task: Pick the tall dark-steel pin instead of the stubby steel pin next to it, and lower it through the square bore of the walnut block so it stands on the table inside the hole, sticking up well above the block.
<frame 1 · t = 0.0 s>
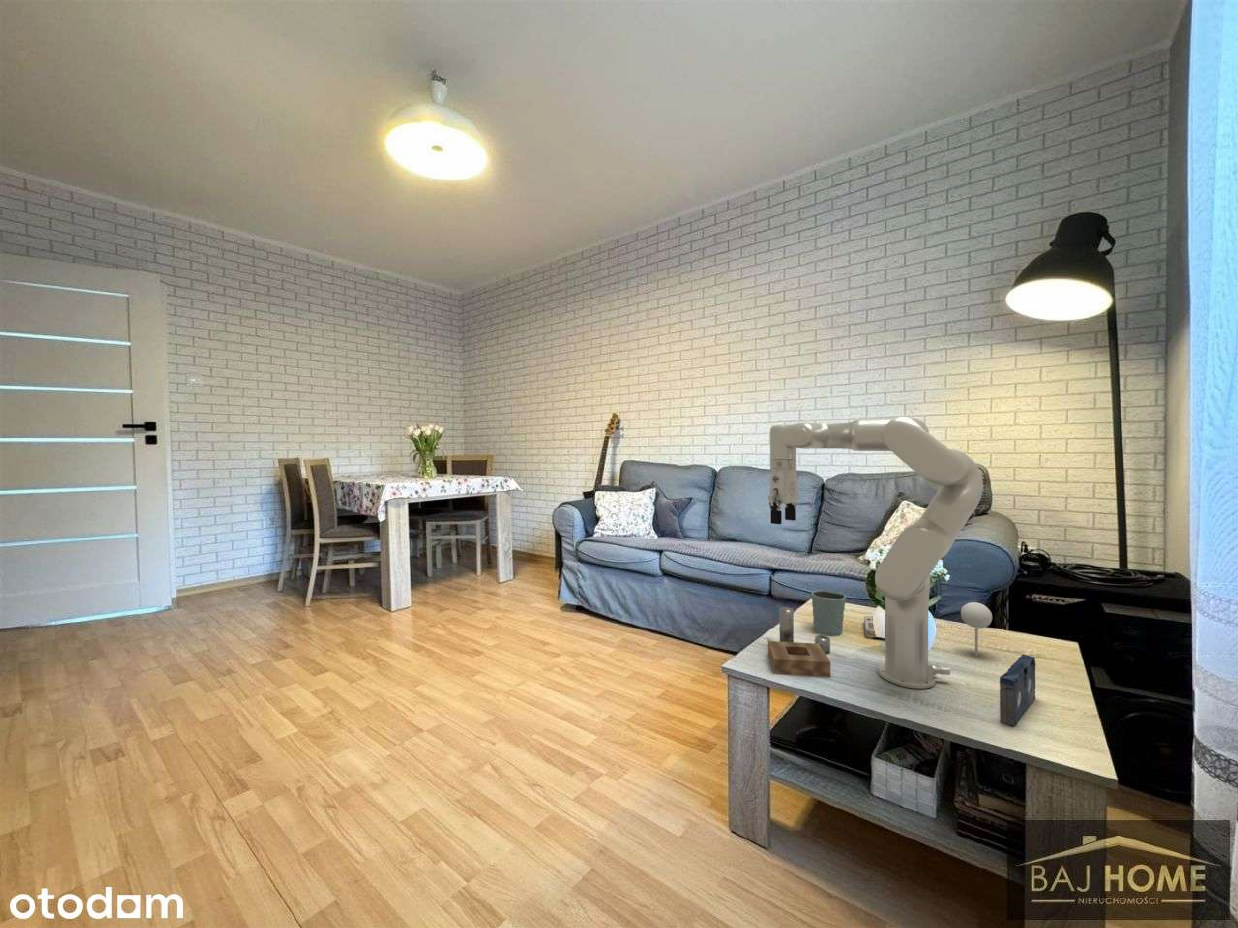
hand: (783, 521, 144), 37 cm above the table, tool pointing down, fingers open, 9 cm apart
short pin: (822, 651, 139), on the table
grey green cup: (828, 631, 154), on the table
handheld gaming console: (880, 633, 153), on the table
hole block: (797, 665, 130), on the table
vhs cassette tape: (1018, 711, 106), on the table
lollipop: (976, 656, 135), on the table
tall pin: (786, 649, 140), on the table
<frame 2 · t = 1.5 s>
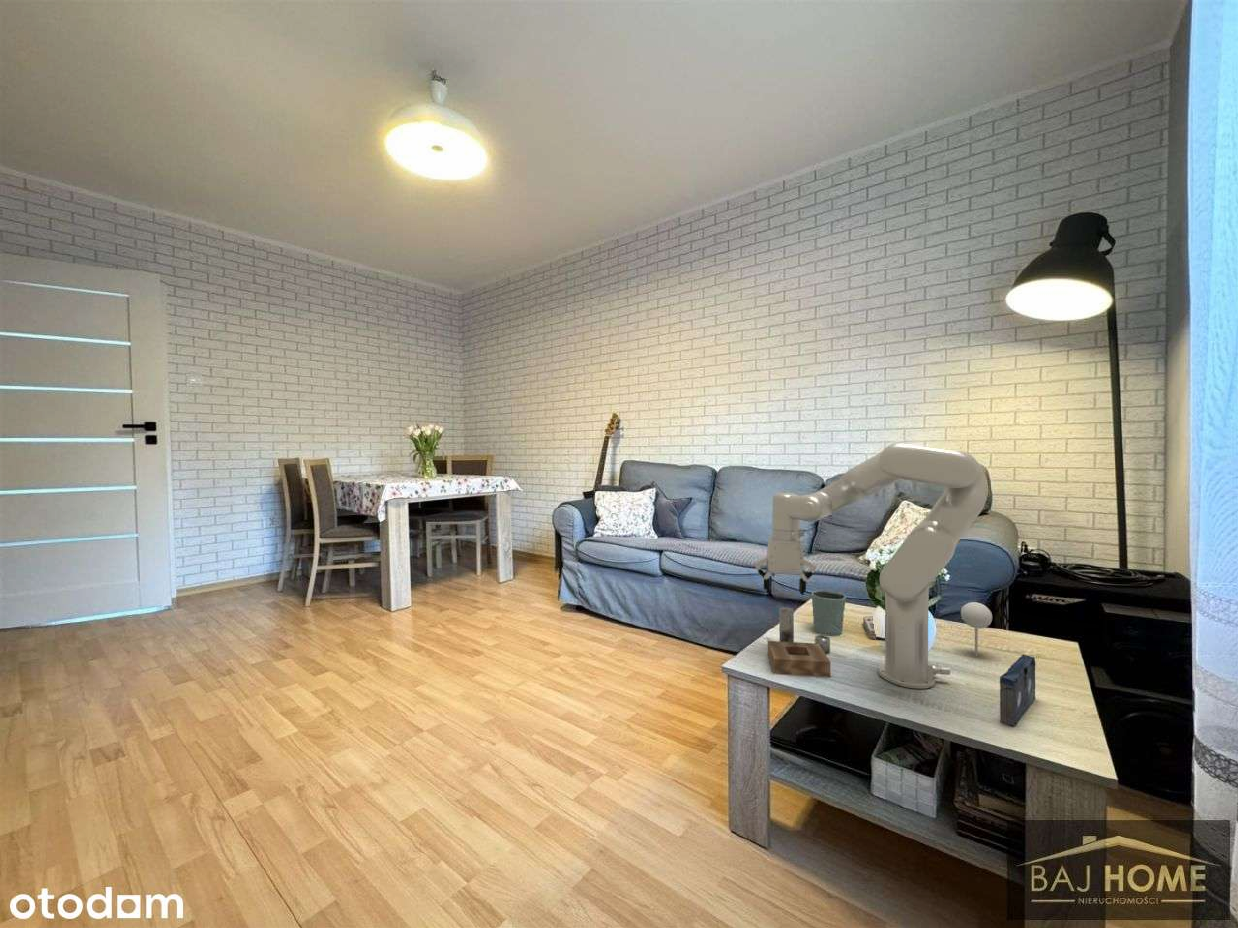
hand: (784, 592, 140), 17 cm above the table, tool pointing down, fingers open, 9 cm apart
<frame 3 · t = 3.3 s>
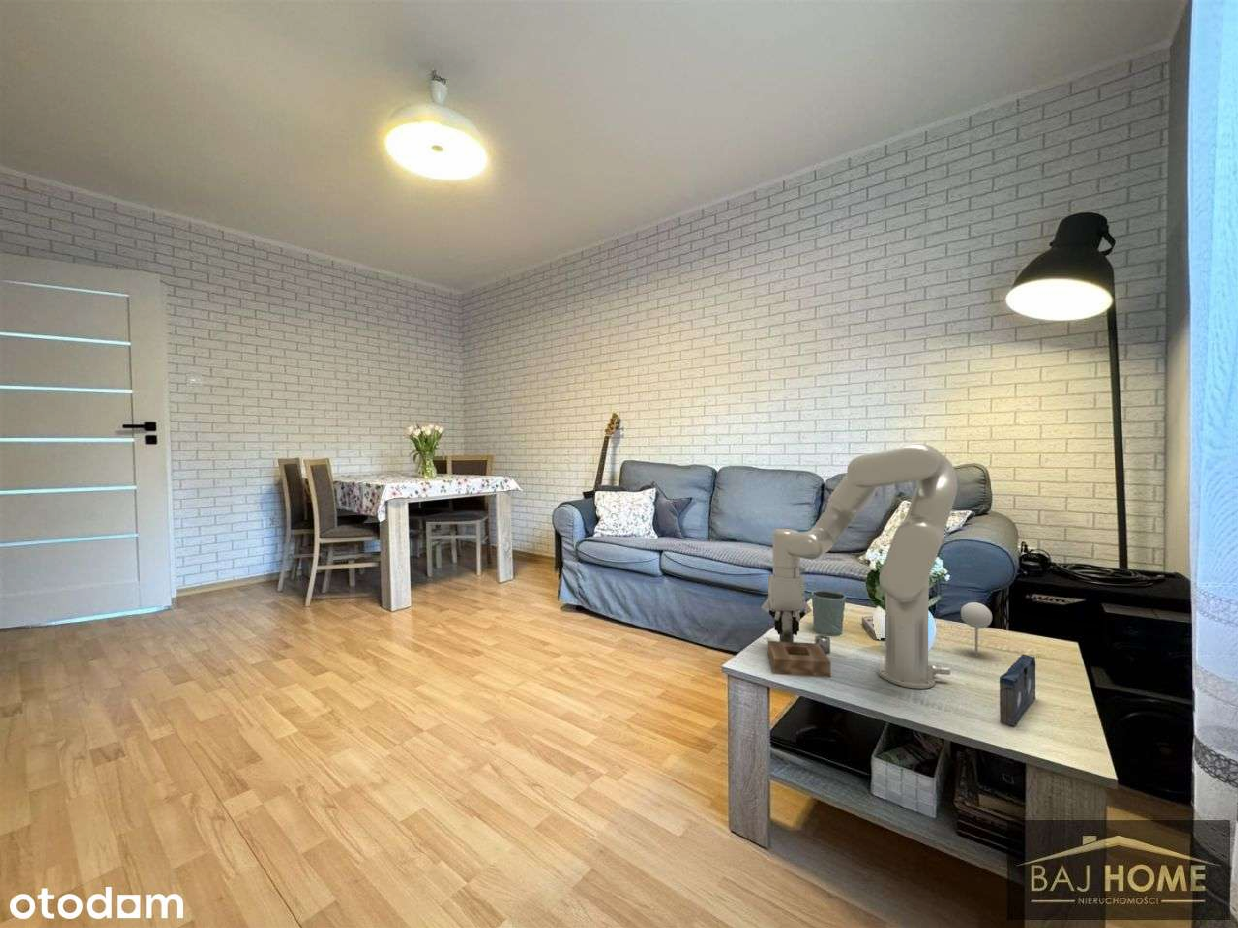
hand: (786, 632, 140), 5 cm above the table, tool pointing down, fingers closed on tall pin, 4 cm apart
tall pin: (786, 649, 140), on the table, touching gripper
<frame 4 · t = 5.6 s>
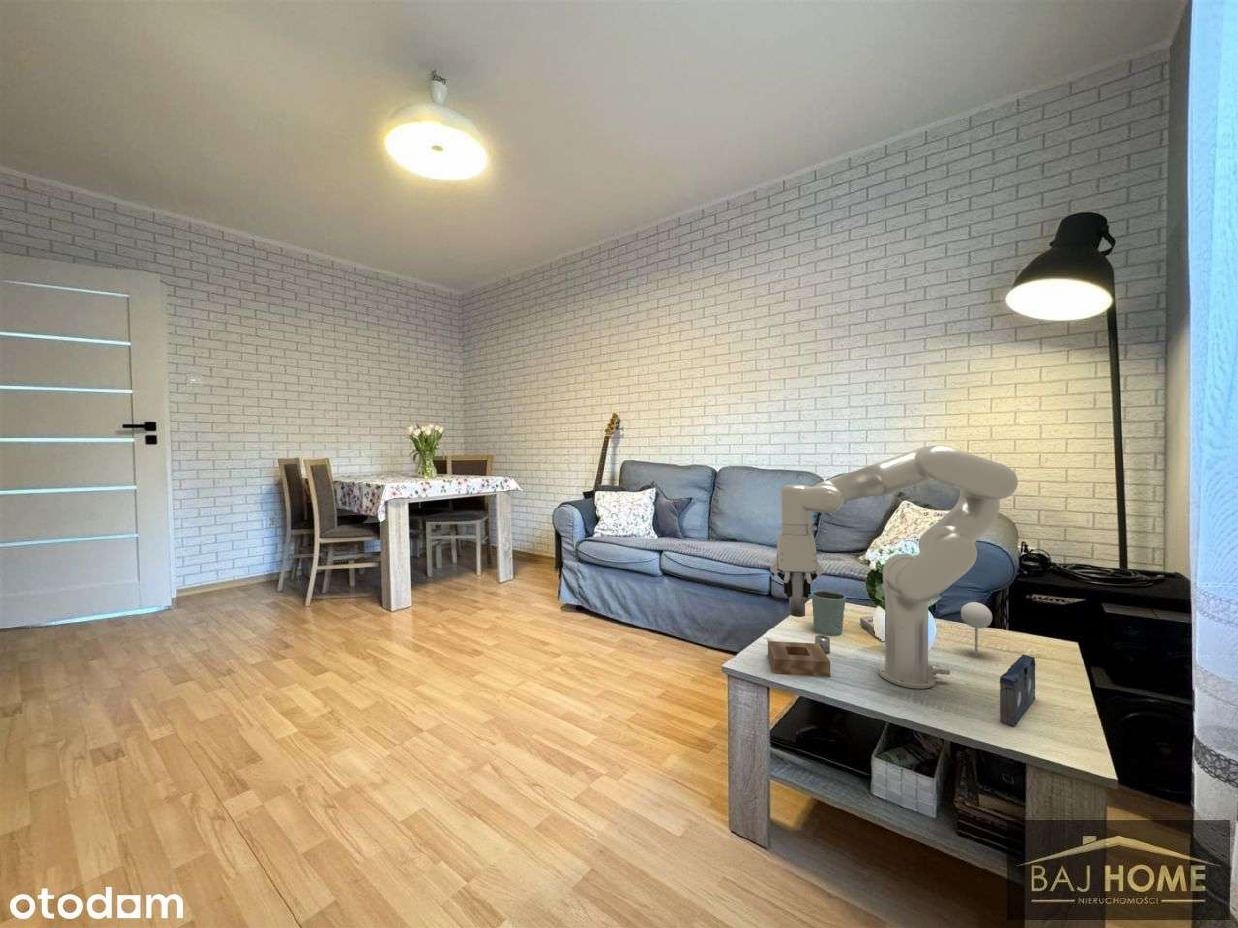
hand: (797, 595, 130), 19 cm above the table, tool pointing down, fingers closed on tall pin, 4 cm apart
tall pin: (797, 614, 130), point 14 cm above the table, touching gripper
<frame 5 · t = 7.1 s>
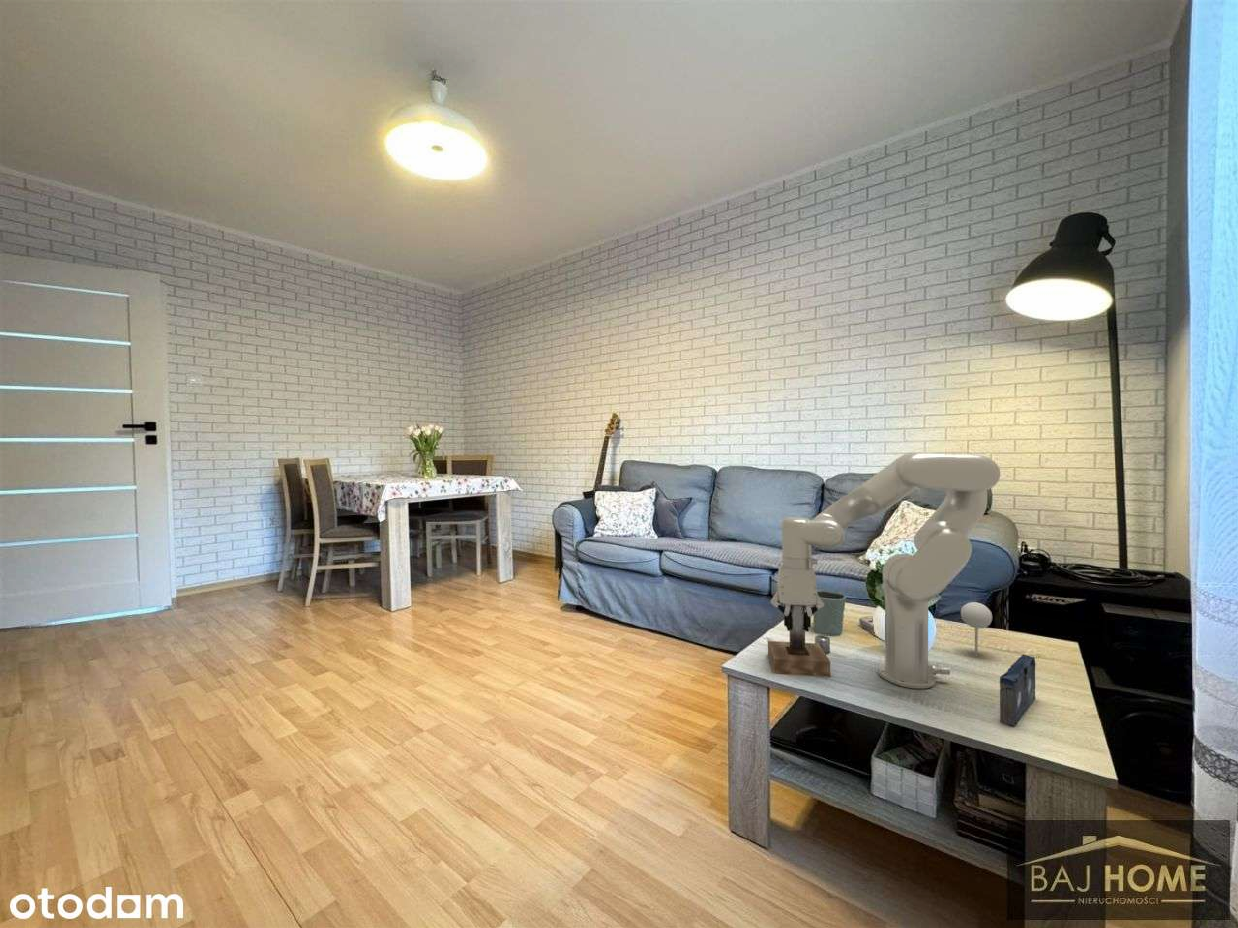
hand: (797, 628, 130), 10 cm above the table, tool pointing down, fingers closed on tall pin, 4 cm apart
tall pin: (797, 647, 130), point 5 cm above the table, touching gripper
when the fingers open (6 cm above the table, at t = 8.4 s): tall pin stays where it is, resting in hole block.
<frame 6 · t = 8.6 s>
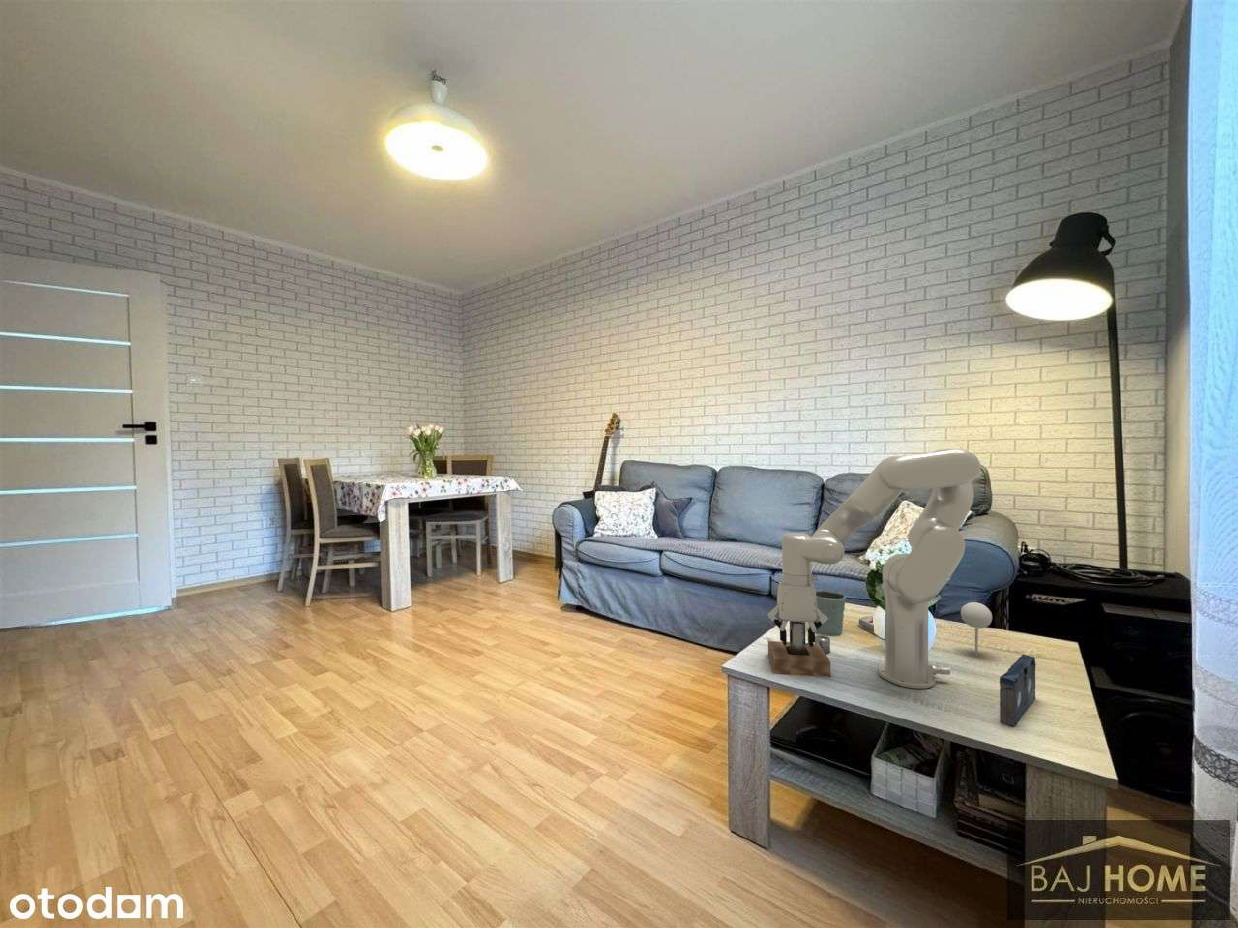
hand: (797, 643, 130), 6 cm above the table, tool pointing down, fingers open, 6 cm apart
tall pin: (797, 665, 130), resting in hole block
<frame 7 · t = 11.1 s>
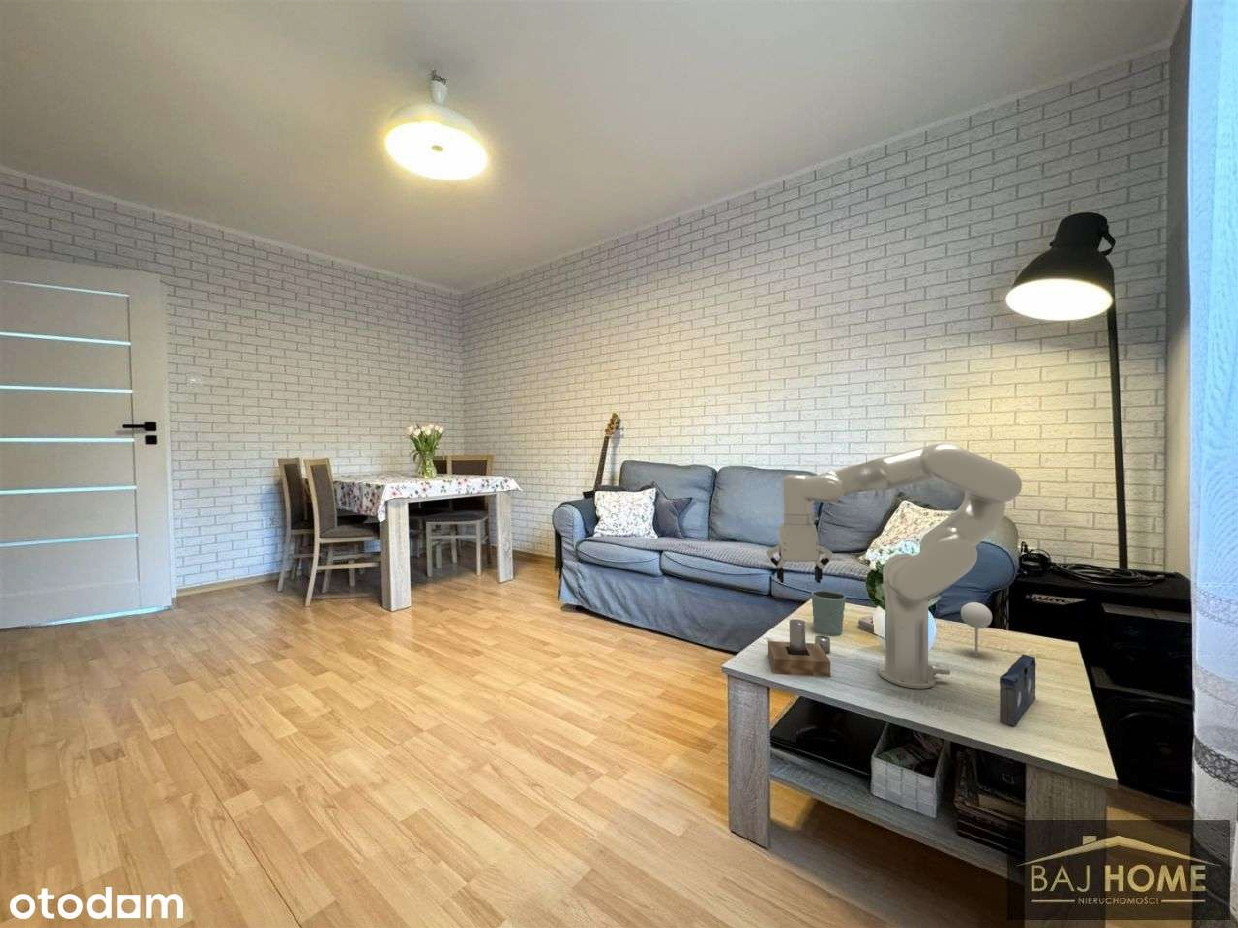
hand: (799, 581, 131), 23 cm above the table, tool pointing down, fingers open, 9 cm apart
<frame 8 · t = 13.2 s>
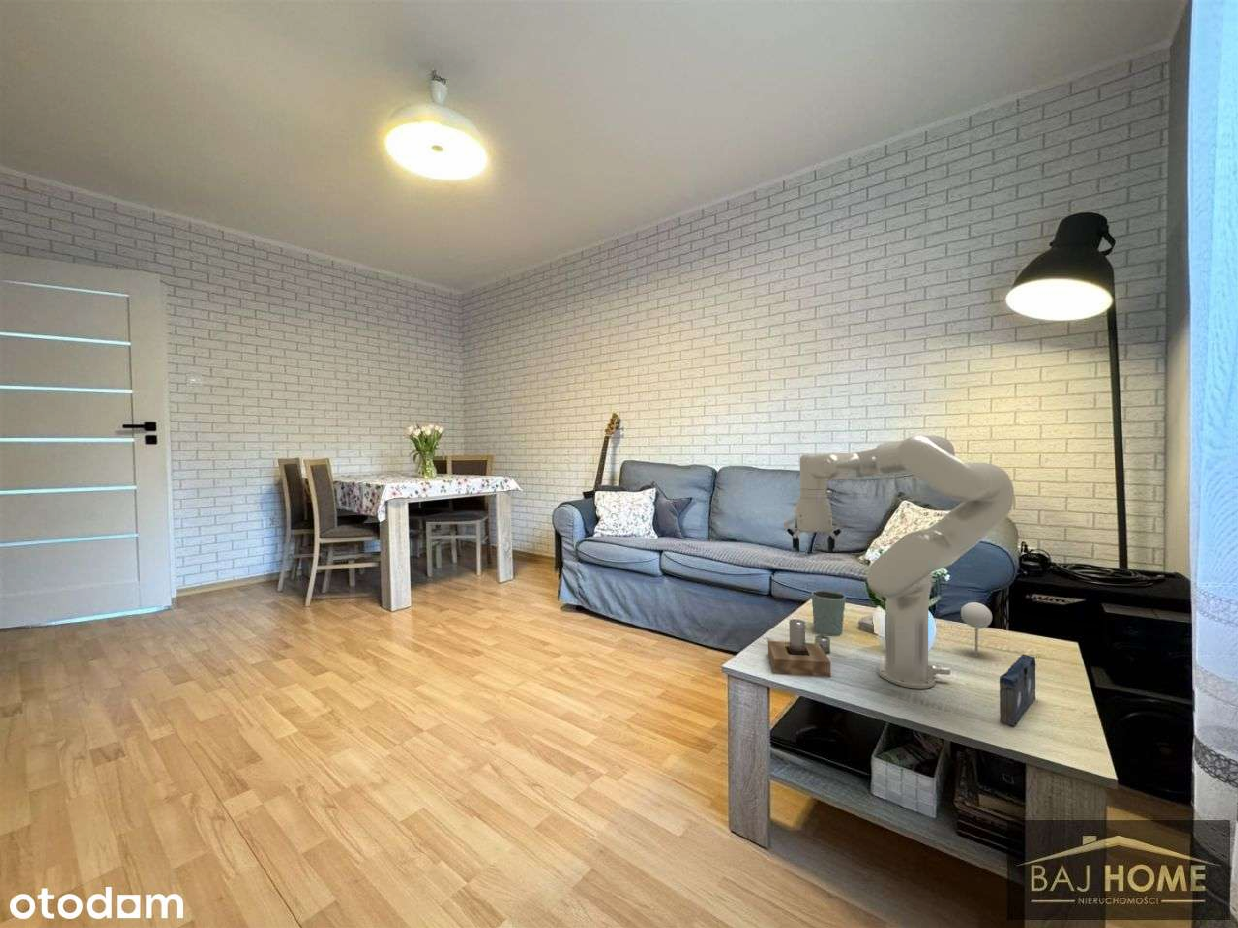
hand: (813, 550, 144), 28 cm above the table, tool pointing down, fingers open, 9 cm apart
at the end: tall pin 0.1 cm off-centre on the hole block, point 0.0 cm above the hole block's base; tall pin tilted 0°; short pin moved 0.1 cm from its start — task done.
